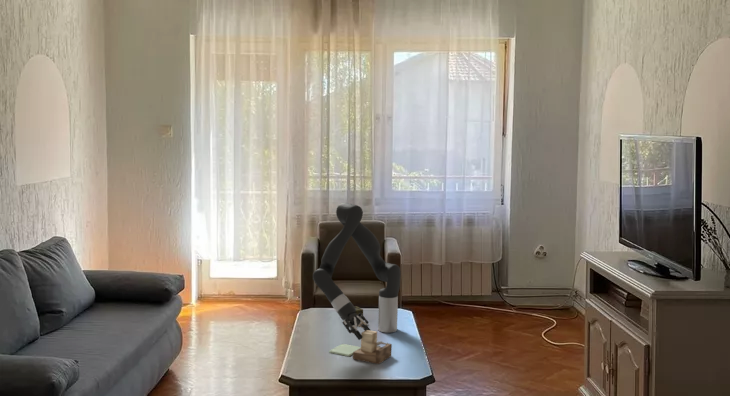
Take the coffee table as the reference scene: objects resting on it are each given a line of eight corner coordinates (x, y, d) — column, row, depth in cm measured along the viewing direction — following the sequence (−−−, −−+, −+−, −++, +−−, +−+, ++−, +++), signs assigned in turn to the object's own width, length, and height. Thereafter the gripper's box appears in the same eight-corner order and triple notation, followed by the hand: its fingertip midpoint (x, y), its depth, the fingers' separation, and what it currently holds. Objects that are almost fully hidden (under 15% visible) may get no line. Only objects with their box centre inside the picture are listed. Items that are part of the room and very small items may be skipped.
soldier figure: (382, 354, 322) (358, 343, 324) (382, 358, 326) (357, 348, 328) (389, 339, 326) (365, 329, 329) (388, 344, 330) (364, 333, 332)
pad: (342, 345, 330) (342, 343, 330) (362, 349, 325) (362, 347, 325) (329, 352, 319) (329, 350, 319) (349, 356, 314) (349, 354, 314)
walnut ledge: (365, 351, 322) (366, 339, 321) (391, 356, 316) (391, 344, 315) (352, 358, 311) (353, 346, 311) (378, 364, 305) (379, 351, 305)
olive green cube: (343, 321, 372) (344, 307, 371) (356, 319, 375) (356, 306, 374) (350, 325, 365) (350, 311, 365) (362, 323, 369) (363, 309, 368)
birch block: (366, 347, 317) (366, 329, 317) (376, 349, 315) (377, 331, 314) (361, 350, 313) (361, 332, 312) (371, 352, 311) (371, 334, 310)
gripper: (340, 305, 311) (363, 335, 306) (356, 298, 323) (378, 327, 319) (329, 315, 314) (352, 345, 309) (346, 308, 326) (367, 337, 322)
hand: (365, 336), depth 314 cm, fingers open, 8 cm apart
